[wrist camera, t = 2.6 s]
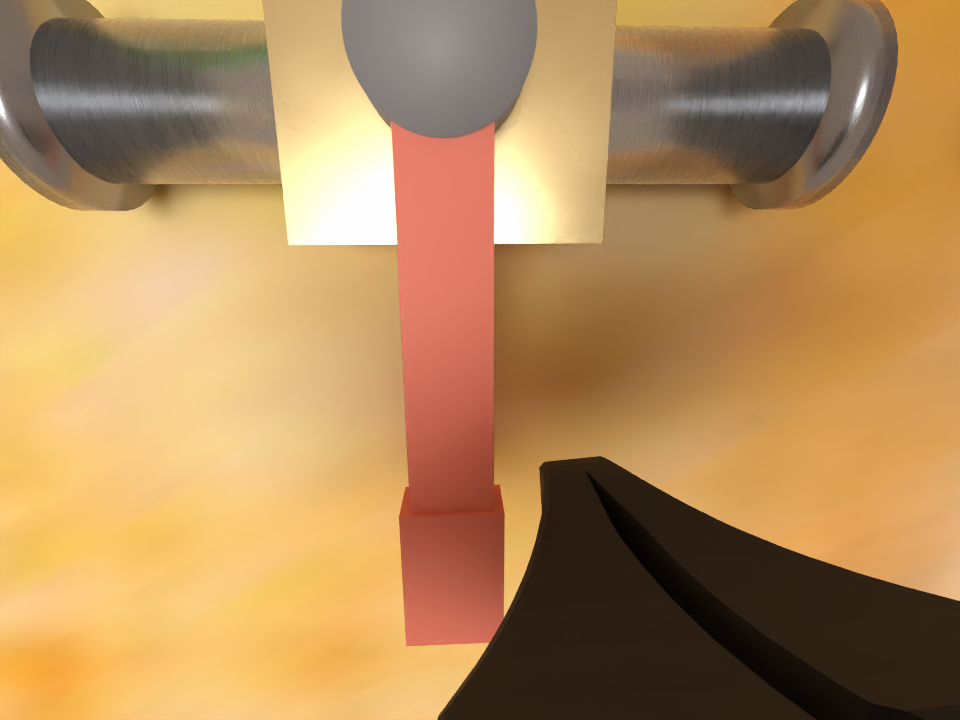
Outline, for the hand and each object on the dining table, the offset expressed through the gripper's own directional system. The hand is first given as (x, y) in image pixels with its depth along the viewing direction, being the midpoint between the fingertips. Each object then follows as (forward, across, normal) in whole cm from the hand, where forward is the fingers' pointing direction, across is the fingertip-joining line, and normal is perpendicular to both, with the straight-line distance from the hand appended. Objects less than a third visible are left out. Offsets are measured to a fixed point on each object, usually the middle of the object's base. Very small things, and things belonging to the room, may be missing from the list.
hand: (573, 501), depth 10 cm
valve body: (+5, +2, -8) cm, 10 cm away
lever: (0, +2, -4) cm, 4 cm away
